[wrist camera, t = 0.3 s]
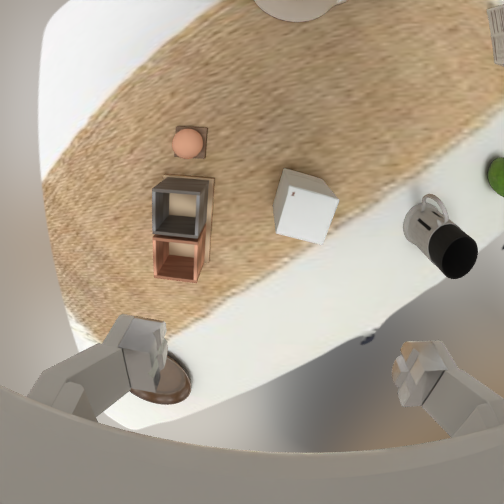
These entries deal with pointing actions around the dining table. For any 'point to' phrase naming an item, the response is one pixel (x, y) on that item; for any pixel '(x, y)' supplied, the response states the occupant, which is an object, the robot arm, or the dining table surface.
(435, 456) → the robot arm
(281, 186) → the supplement box
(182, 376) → the plant saucer
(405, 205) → the dining table surface
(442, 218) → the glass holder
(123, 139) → the dining table surface
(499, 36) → the supplement box
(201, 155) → the ball stand
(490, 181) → the avocado
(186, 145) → the ball
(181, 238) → the stacked cubby shelf
